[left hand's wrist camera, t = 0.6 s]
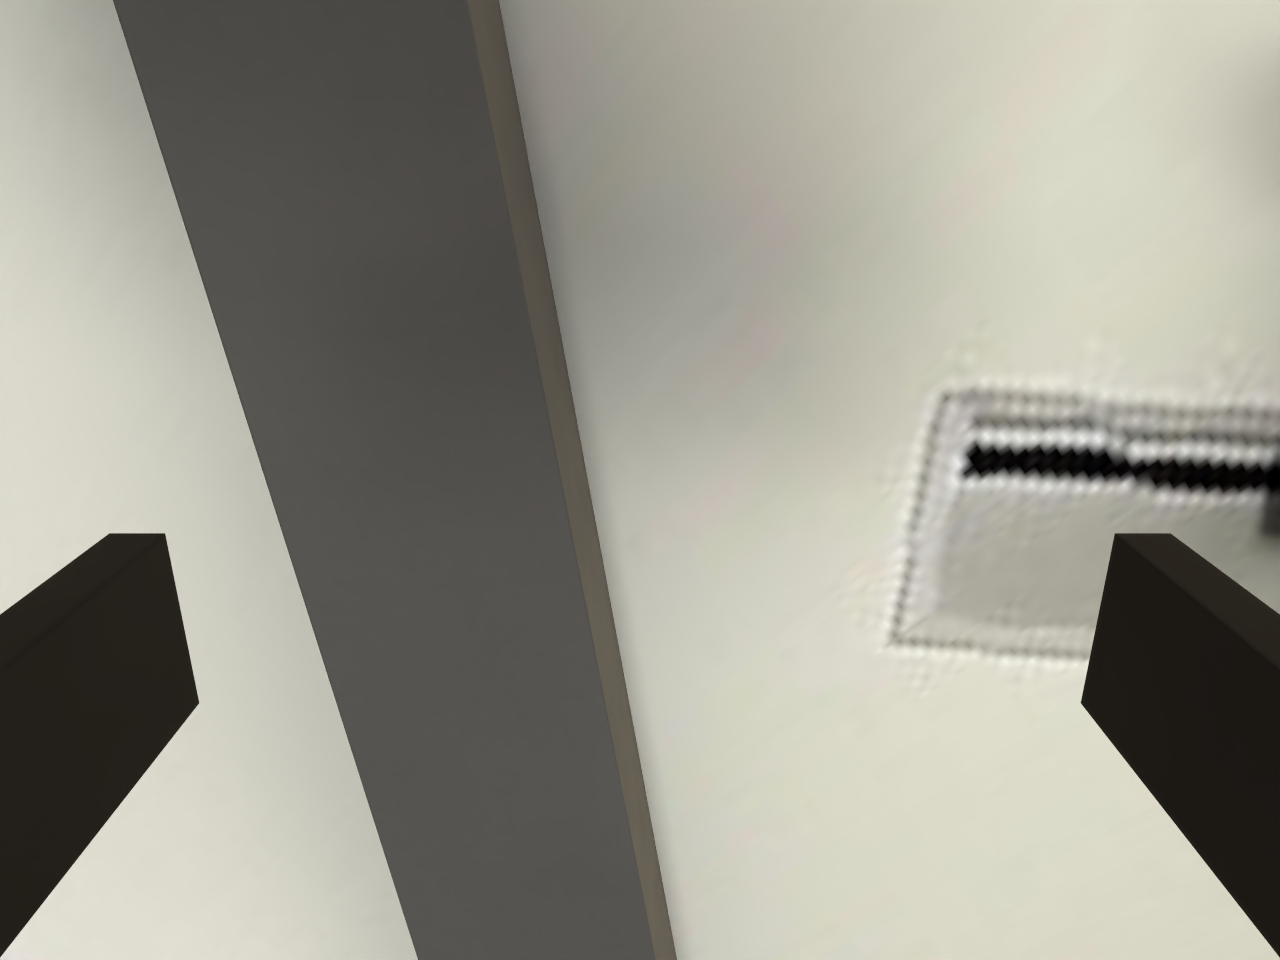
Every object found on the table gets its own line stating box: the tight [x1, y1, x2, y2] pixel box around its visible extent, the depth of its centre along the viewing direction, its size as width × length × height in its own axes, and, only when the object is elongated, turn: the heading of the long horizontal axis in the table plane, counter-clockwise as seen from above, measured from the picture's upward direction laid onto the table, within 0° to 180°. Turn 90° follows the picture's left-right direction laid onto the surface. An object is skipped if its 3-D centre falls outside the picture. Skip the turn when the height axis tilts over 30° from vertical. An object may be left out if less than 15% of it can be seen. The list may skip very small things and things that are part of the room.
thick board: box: [113, 0, 677, 960], centre depth 38 cm, size 69×10×7 cm, turn 9°
